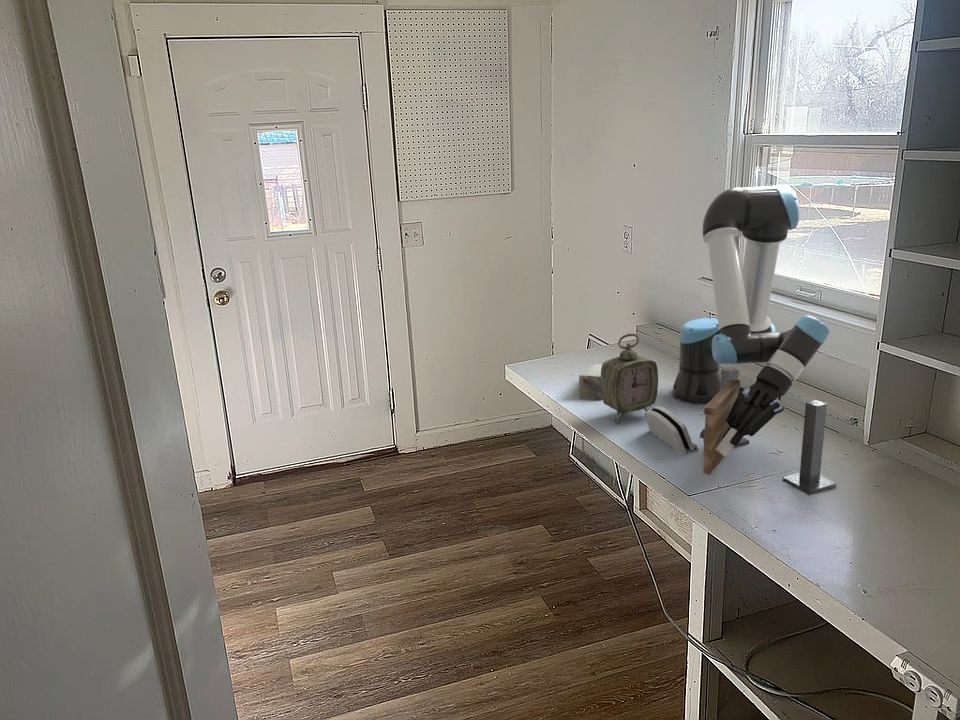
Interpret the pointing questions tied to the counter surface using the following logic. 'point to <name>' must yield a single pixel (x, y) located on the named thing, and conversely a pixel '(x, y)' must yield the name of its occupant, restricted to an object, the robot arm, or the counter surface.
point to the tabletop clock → (629, 381)
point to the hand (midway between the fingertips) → (720, 453)
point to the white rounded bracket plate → (669, 429)
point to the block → (591, 383)
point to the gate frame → (811, 445)
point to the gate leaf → (717, 423)
